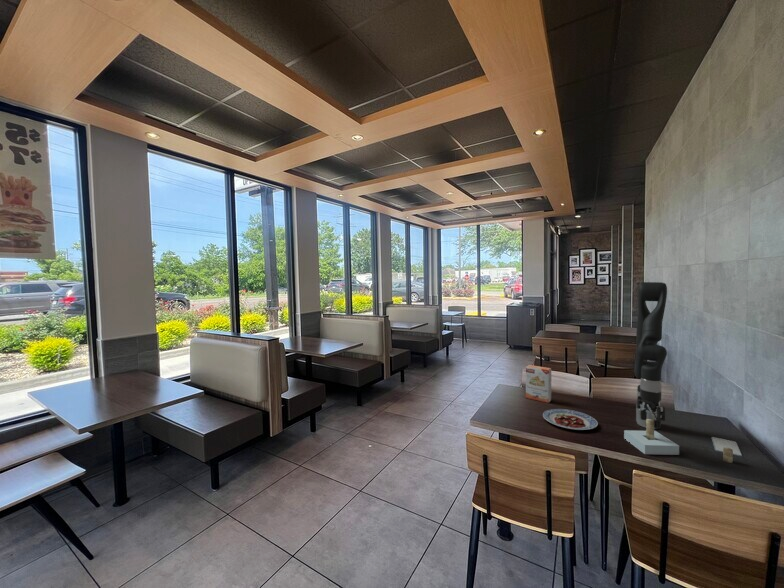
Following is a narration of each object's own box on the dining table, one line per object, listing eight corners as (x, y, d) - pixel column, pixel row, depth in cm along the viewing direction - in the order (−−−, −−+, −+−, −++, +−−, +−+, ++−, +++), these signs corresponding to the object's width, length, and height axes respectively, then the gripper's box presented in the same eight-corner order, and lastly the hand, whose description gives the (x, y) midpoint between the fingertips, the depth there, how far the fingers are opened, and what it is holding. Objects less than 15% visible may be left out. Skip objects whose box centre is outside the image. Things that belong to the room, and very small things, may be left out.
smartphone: (715, 449, 143) (711, 436, 155) (715, 451, 143) (711, 438, 155) (742, 455, 138) (736, 441, 149) (742, 458, 138) (736, 443, 149)
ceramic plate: (606, 435, 159) (606, 429, 159) (550, 431, 164) (550, 425, 164) (586, 414, 184) (586, 409, 184) (537, 411, 189) (537, 406, 189)
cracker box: (525, 398, 210) (525, 366, 209) (528, 395, 214) (528, 364, 214) (548, 403, 201) (548, 369, 200) (551, 400, 205) (551, 367, 204)
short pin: (721, 458, 137) (721, 447, 136) (728, 459, 136) (728, 447, 136) (727, 462, 134) (727, 450, 134) (734, 462, 134) (734, 450, 133)
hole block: (624, 438, 155) (624, 430, 155) (655, 439, 154) (655, 430, 154) (644, 454, 141) (644, 445, 141) (679, 454, 140) (679, 445, 140)
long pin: (644, 444, 149) (644, 418, 149) (650, 444, 149) (651, 418, 149) (648, 447, 146) (649, 421, 146) (655, 447, 146) (655, 421, 146)
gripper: (631, 383, 154) (631, 417, 155) (653, 394, 140) (652, 431, 141) (648, 383, 153) (647, 417, 154) (671, 394, 139) (671, 431, 140)
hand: (650, 423), depth 148 cm, fingers open, 8 cm apart
